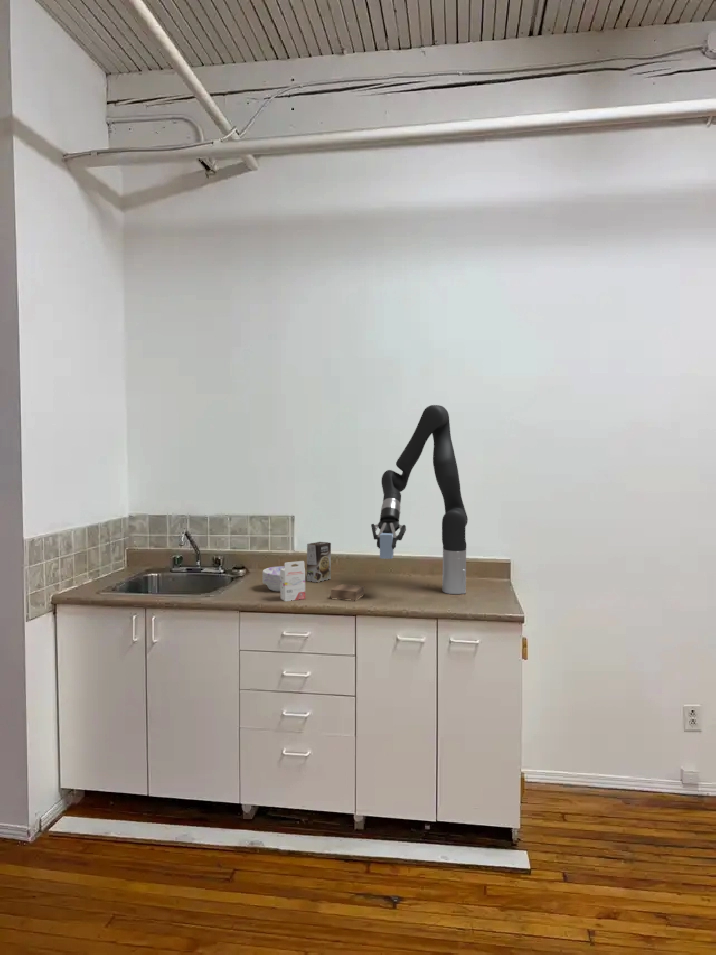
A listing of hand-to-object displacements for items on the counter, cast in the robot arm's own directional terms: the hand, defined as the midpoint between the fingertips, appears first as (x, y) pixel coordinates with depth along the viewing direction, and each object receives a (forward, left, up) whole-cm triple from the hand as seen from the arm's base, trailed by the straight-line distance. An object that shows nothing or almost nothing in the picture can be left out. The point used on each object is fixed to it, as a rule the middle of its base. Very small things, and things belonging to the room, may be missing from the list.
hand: (386, 547), depth 254 cm
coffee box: (+33, -28, -20) cm, 48 cm away
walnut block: (+15, -1, -20) cm, 25 cm away
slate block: (0, -2, -4) cm, 5 cm away
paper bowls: (+44, -9, -20) cm, 49 cm away
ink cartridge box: (+35, +6, -20) cm, 41 cm away
